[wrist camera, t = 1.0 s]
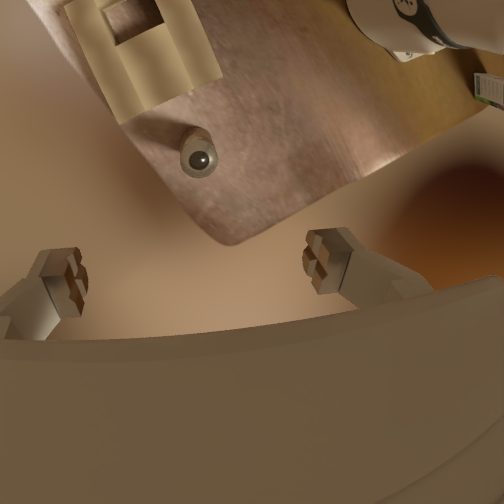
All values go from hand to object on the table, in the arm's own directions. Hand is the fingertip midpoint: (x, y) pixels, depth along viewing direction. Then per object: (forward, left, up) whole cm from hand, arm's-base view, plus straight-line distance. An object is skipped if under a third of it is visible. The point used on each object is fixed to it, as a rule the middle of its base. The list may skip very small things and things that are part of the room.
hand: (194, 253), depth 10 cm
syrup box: (-55, +8, -30) cm, 63 cm away
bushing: (0, +4, -30) cm, 30 cm away
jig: (+1, -12, -30) cm, 32 cm away
